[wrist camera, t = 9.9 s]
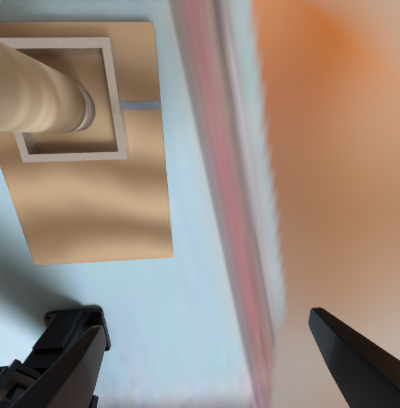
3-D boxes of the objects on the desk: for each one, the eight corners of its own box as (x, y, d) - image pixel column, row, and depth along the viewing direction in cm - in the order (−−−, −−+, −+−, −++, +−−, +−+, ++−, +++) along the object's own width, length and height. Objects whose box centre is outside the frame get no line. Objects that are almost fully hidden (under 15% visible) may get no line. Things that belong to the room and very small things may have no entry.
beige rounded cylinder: (102, 133, 17) (30, 130, 9) (53, 134, 16) (-63, 132, 9) (92, 78, 15) (-1, 20, 8) (39, 78, 15) (-112, 20, 8)
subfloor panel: (173, 253, 22) (172, 257, 21) (40, 260, 21) (34, 265, 20) (154, 27, 15) (152, 21, 14) (-38, 27, 14) (-52, 21, 14)
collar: (130, 157, 17) (126, 159, 16) (34, 160, 17) (22, 162, 16) (115, 45, 15) (109, 37, 14) (0, 45, 14) (-16, 37, 13)
